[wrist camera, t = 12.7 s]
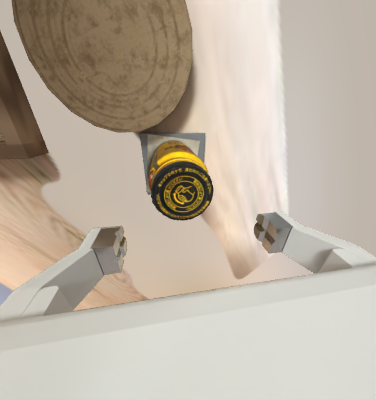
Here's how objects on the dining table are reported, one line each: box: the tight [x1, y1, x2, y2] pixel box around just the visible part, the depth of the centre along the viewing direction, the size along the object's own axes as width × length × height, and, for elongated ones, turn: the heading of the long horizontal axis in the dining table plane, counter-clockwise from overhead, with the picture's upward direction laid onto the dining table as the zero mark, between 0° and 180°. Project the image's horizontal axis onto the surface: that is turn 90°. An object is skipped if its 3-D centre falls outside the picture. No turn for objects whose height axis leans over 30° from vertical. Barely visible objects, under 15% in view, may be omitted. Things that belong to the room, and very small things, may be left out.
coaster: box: [140, 133, 205, 194], centre depth 24 cm, size 9×9×1 cm
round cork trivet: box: [12, 0, 192, 132], centre depth 16 cm, size 16×16×3 cm
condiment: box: [146, 134, 213, 220], centre depth 18 cm, size 7×8×12 cm
